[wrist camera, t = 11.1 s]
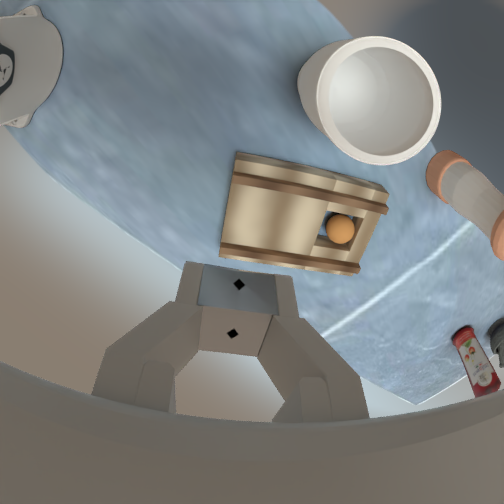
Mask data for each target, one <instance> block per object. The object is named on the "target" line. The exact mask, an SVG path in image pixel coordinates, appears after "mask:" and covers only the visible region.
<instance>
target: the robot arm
mask: <svg viewBox="0 0 504 504" xmlns="http://www.w3.org/2000/svg"><path fill="white" fill-rule="evenodd" d="M62 57H63V48H62V41H61V37H60V34H59V32H58V30H57V29H56V27H55V26H54V25H53V24H52V23H51V22H49V21H48V20H46V19H45V18H44V17H43V16H42V13H41V11H40V9H39V7H38V6H37V5H32V6H28V7H27V8H25V9H23V10H21V11H19V12H18V13H16V14H14V15H13V16H5V17H0V126H2V125H8V126H13V127H17V128H23V127H26V126H27V125H28V124H29V122H30V120H31V118H32V116H33V113H34V111H35V110H36V109H37V108H38V107H39V106H40V105H41V104H42V103H43V102H44V101H45V100H46V99H47V97H48V96H49V95H50V93H51V92H52V90H53V88H54V86H55V84H56V82H57V79H58V76H59V73H60V70H61V65H62ZM17 119H18V120H17ZM198 350H203V351H213V352H223V353H231V354H239V355H247V356H255V357H257V359H258V360H259V362H260V363H261V365H262V366H263V368H264V370H265V371H266V373H267V374H268V376H269V377H270V379H271V380H272V382H273V383H274V385H275V387H276V388H277V390H278V391H279V393H280V394H281V396H282V397H283V399H284V400H285V403H284V404H283V406H282V407H281V408H280V410H279V411H278V412H277V414H276V415H275V417H274V418H273V419H272V422H252V421H236V420H224V419H214V418H204V417H196V416H189V415H183V414H176V400H175V377H176V376H177V375H178V373H179V372H180V371H181V370H182V369H183V368H184V367H185V366H186V365H187V363H188V362H189V361H190V360H191V359H192V358H193V357H194V356H195V354H196V353H197V352H198ZM0 504H504V389H503V390H500V391H497V392H494V393H490V394H487V395H484V396H481V397H477V398H474V399H470V400H467V401H463V402H459V403H455V404H451V405H447V406H442V407H438V408H433V409H428V410H423V411H418V412H412V413H407V414H401V415H394V416H386V417H378V418H369V413H368V409H367V405H366V400H365V396H364V392H363V388H362V384H361V380H360V376H359V375H358V374H357V373H356V372H355V371H354V370H353V369H352V368H351V367H350V366H349V365H348V364H347V362H346V361H345V360H344V359H343V358H342V357H341V356H340V355H339V354H338V353H337V352H336V351H335V350H334V349H333V348H332V347H331V346H330V345H329V344H328V343H327V342H326V341H325V339H324V338H323V337H322V336H321V335H320V334H319V333H318V332H317V331H316V330H315V329H314V328H313V327H312V326H311V325H310V324H309V323H308V322H307V321H306V320H305V319H304V318H299V313H298V307H297V301H296V296H295V290H294V285H293V279H292V277H291V276H288V275H279V274H267V273H260V272H252V271H245V270H239V269H233V268H227V267H221V266H215V265H209V264H202V263H196V262H190V261H186V263H185V264H184V268H183V272H182V276H181V280H180V284H179V288H178V292H177V296H176V300H175V302H172V301H169V302H168V303H166V304H165V305H164V306H162V307H161V308H160V309H158V310H157V311H156V312H154V313H153V314H152V315H150V316H149V317H148V318H146V319H145V320H144V321H143V322H141V323H140V324H139V325H137V326H136V327H134V328H133V329H132V330H131V331H129V332H128V333H126V334H125V335H124V336H123V337H121V338H120V339H119V340H117V341H116V342H115V343H113V344H112V345H111V346H109V347H108V348H107V349H106V351H105V354H104V357H103V360H102V363H101V366H100V369H99V372H98V375H97V378H96V381H95V384H94V387H93V391H92V394H91V395H90V394H87V393H83V392H80V391H77V390H74V389H71V388H67V387H65V386H61V385H59V384H56V383H53V382H50V381H47V380H45V379H42V378H39V377H37V376H34V375H32V374H29V373H27V372H24V371H22V370H19V369H17V368H15V367H13V366H10V365H8V364H6V363H4V362H1V361H0Z"/></svg>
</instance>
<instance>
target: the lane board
mask: <svg viewBox="0 0 504 504" xmlns="http://www.w3.org/2000/svg"><path fill="white" fill-rule="evenodd" d="M388 197H389V193H388V192H387V191H386V190H385V189H384V187H383V186H382V185H380V184H377V183H373V182H370V181H366V180H362V179H359V178H355V177H351V176H347V175H344V174H340V173H336V172H332V171H328V170H323V169H319V168H315V167H311V166H306V165H302V164H297V163H292V162H288V161H283V160H278V159H273V158H268V157H263V156H257V155H252V154H246V153H240V152H237V153H236V158H235V163H234V169H233V174H232V180H231V185H230V191H229V196H228V202H227V208H226V213H225V219H224V225H223V231H222V237H221V243H220V251H219V257H222V258H229V259H236V260H243V261H249V262H256V263H263V264H270V265H277V266H284V267H291V268H298V269H304V270H312V271H319V272H326V273H333V274H340V275H347V276H352V275H353V273H356V274H358V273H359V271H360V269H361V268H360V266H359V261H360V259H361V257H362V255H363V253H364V251H365V249H366V247H367V244H368V242H369V240H370V238H371V236H372V234H373V231H374V229H375V227H376V225H377V222H378V220H379V218H380V216H381V214H384V215H386V214H387V212H388V209H389V208H388V207H387V205H386V201H387V199H388ZM326 210H328V211H333V212H337V213H342V214H347V215H351V216H354V217H353V219H352V222H353V224H354V227H355V231H354V235H353V237H352V238H351V239H350V240H349V241H348V242H346V243H343V244H338V243H335V242H333V241H332V240H330V239H329V237H327V236H321V235H318V232H319V230H320V227H321V224H322V221H323V219H324V216H325V213H326Z"/></svg>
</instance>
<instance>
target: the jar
mask: <svg viewBox="0 0 504 504" xmlns="http://www.w3.org/2000/svg"><path fill="white" fill-rule="evenodd" d="M297 87H298V92H299V95H300V99H301V103H302V105H303V108H304V110H305V112H306V114H307V116H308V117H309V119H310V120H311V121H312V123H313V124H314V125H315V126H316V127H317V128H318V129H319V130H320V131H321V132H322V133H323V134H325V135H326V136H327V137H328V138H329V139H330V140H331V141H332V142H333V143H334V144H335V145H336V146H337V147H338V148H339V149H340V150H341V151H343V152H344V153H346V154H347V155H349V156H350V157H352V158H354V159H356V160H358V161H361V162H364V163H368V164H373V165H391V164H396V163H400V162H402V161H405V160H407V159H409V158H411V157H413V156H414V155H416V154H417V153H418V152H420V151H421V150H422V149H423V148H424V147H425V146H426V145H427V144H428V142H429V141H430V139H431V138H432V136H433V135H434V133H435V131H436V128H437V126H438V123H439V119H440V113H441V96H440V90H439V86H438V83H437V80H436V77H435V75H434V73H433V71H432V70H431V68H430V66H429V65H428V64H427V62H426V61H425V60H424V59H423V58H422V56H420V54H418V53H417V52H416V51H415V50H414V49H412V48H411V47H409V46H408V45H406V44H404V43H402V42H400V41H397V40H395V39H391V38H387V37H380V36H368V37H360V38H356V39H348V40H341V41H337V42H334V43H331V44H328V45H326V46H324V47H323V48H321V49H319V50H318V51H317V52H315V53H314V54H313V55H312V56H311V57H310V58H309V60H308V61H307V62H306V63H305V64H304V65H303V66H302V68H301V70H300V72H299V75H298V80H297Z"/></svg>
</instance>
